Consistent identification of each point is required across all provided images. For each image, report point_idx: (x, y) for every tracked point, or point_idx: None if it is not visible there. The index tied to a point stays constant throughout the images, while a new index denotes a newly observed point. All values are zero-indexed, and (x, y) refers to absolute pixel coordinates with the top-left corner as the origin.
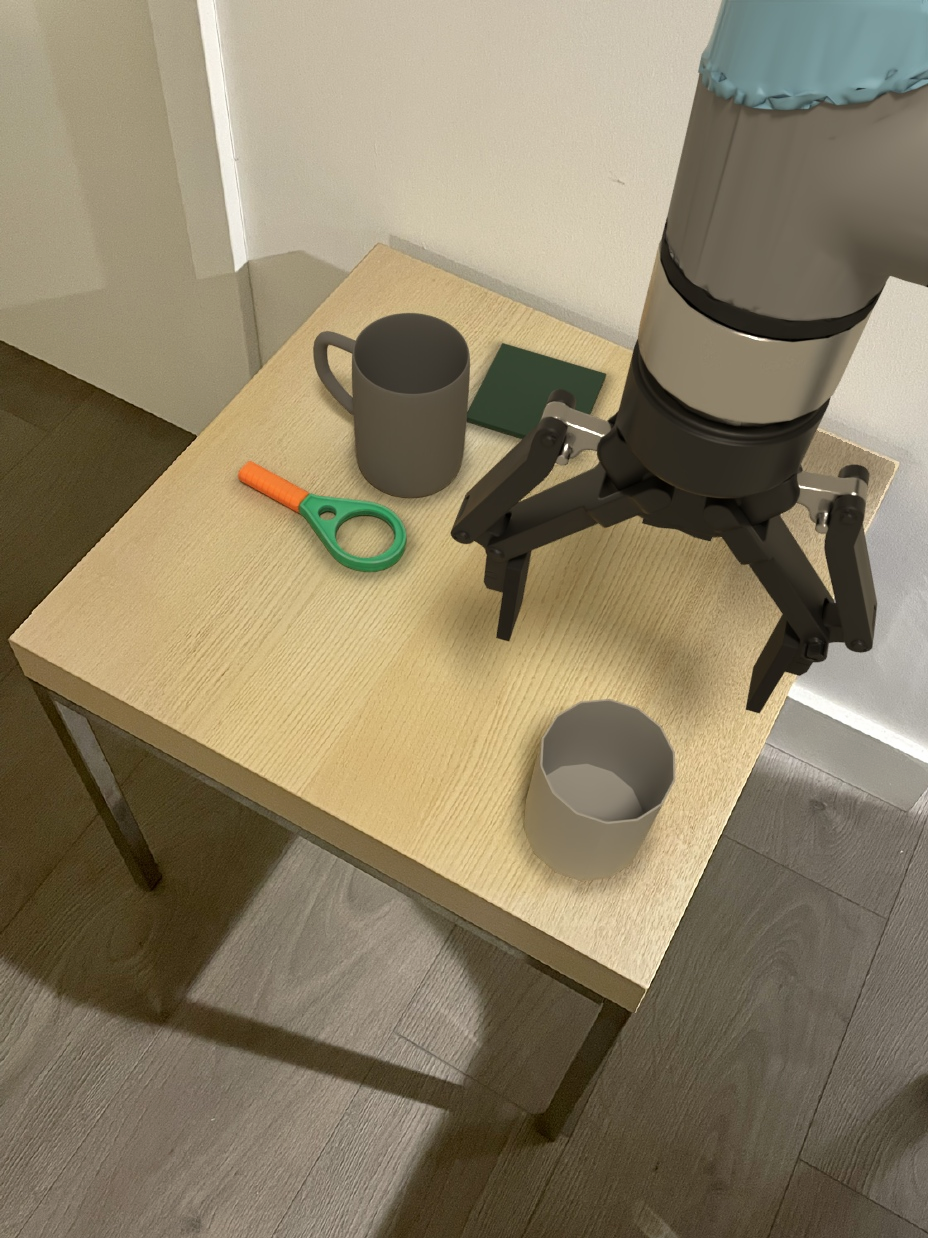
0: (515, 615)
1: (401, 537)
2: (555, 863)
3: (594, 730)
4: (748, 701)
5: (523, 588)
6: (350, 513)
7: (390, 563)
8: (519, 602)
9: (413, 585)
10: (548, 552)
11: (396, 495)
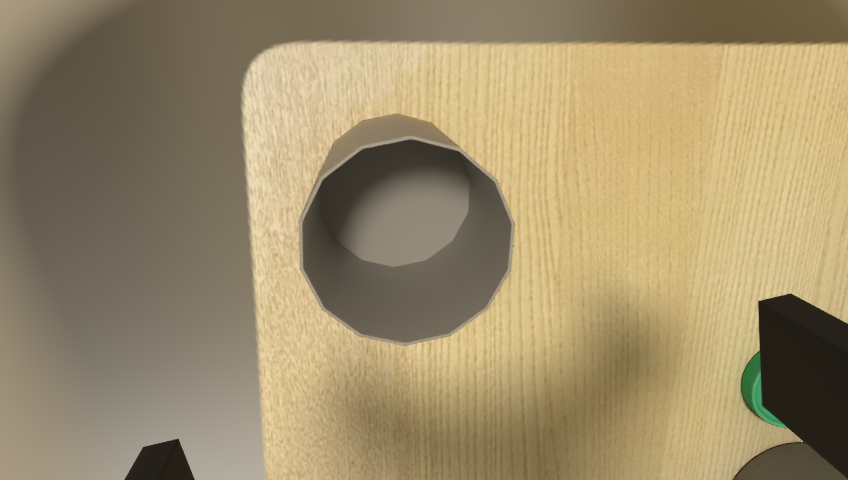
0: (811, 363)
1: (757, 403)
2: (401, 116)
3: (442, 291)
4: (175, 462)
5: (835, 441)
6: None
7: (753, 367)
8: (819, 400)
9: (712, 356)
10: (585, 475)
11: (780, 447)
